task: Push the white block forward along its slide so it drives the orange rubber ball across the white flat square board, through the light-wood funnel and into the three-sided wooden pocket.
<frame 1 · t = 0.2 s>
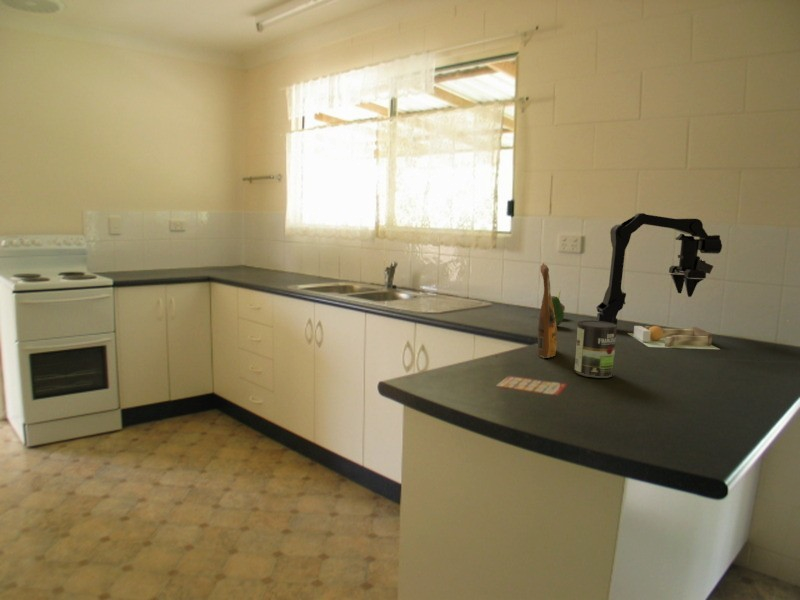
hand: (684, 294, 215), 14 cm above the worktop, tool pointing down, fingers open, 9 cm apart
white block: (641, 333, 201), point 3 cm above the worktop, slide at 0.0 cm
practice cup: (684, 341, 201), resting on white flat square board
coffee can: (593, 374, 159), on the worktop
cupcake: (553, 319, 241), on the worktop
ball: (655, 333, 201), point 3 cm above the worktop, touching white flat square board
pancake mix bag: (545, 354, 181), on the worktop
white flat square board: (670, 342, 201), on the worktop
fruit: (552, 327, 224), on the worktop
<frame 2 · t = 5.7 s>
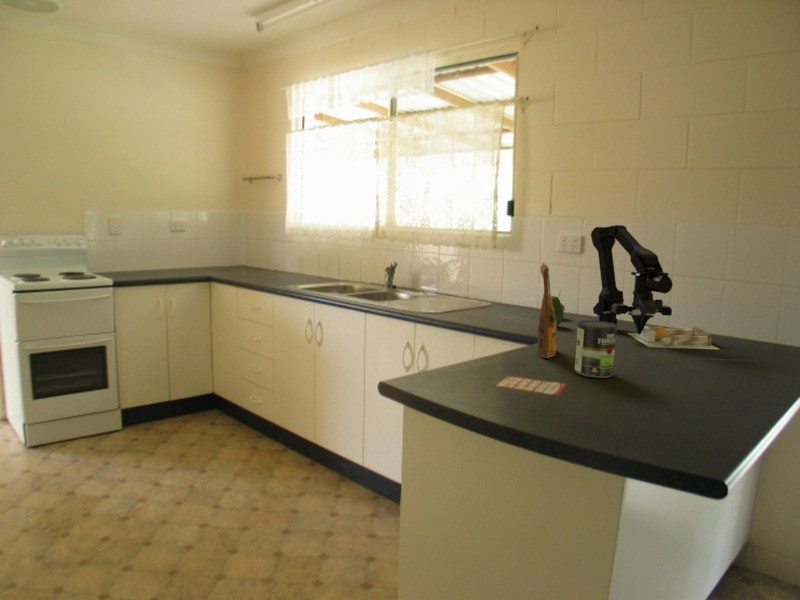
hand: (639, 333, 201), 3 cm above the worktop, tool pointing down, fingers closed
white block: (646, 333, 201), point 3 cm above the worktop, slide at 1.6 cm, touching gripper
ball: (657, 333, 201), point 3 cm above the worktop, tilted 17°, touching white flat square board
everything else where it was.
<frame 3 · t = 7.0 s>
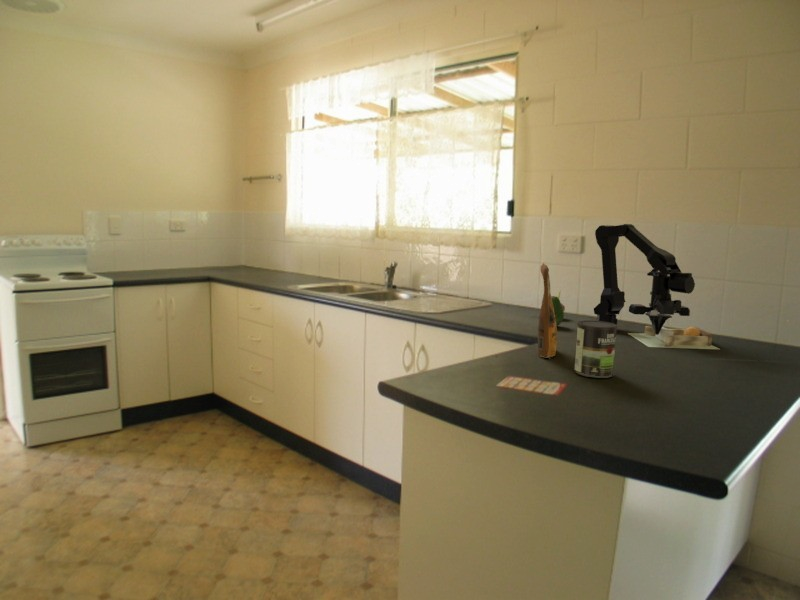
hand: (656, 334, 201), 3 cm above the worktop, tool pointing down, fingers closed
white block: (664, 334, 201), point 3 cm above the worktop, slide at 7.6 cm, touching gripper
ball: (692, 334, 200), point 3 cm above the worktop, tilted 78°, touching white flat square board
everything else where it was.
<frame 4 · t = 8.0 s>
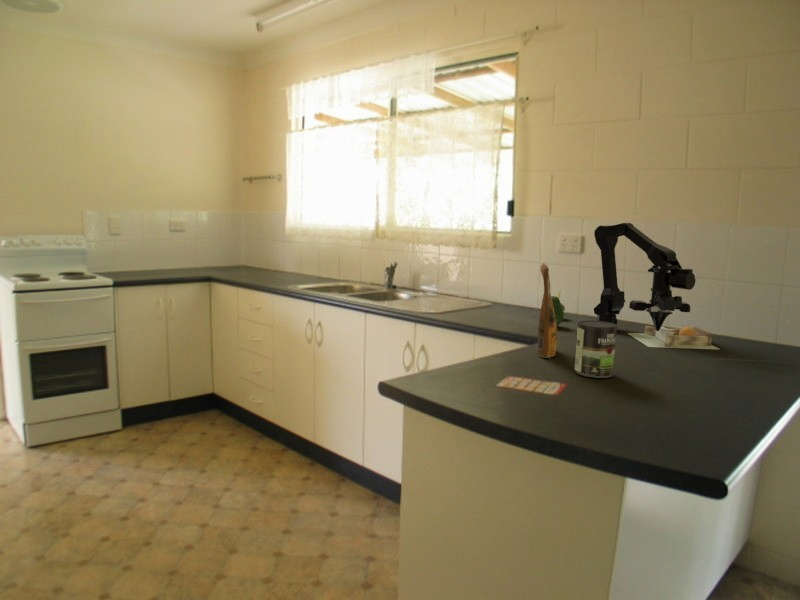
hand: (657, 330, 201), 4 cm above the worktop, tool pointing down, fingers closed
white block: (664, 334, 201), point 3 cm above the worktop, slide at 7.6 cm
ball: (687, 334, 200), point 3 cm above the worktop, tilted 117°, touching white flat square board
everything else where it was.
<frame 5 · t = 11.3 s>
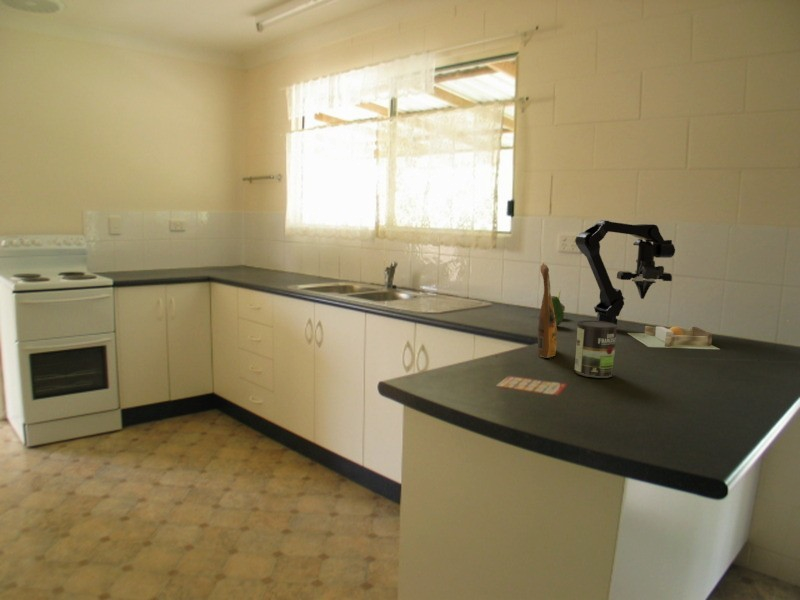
hand: (642, 298, 220), 12 cm above the worktop, tool pointing down, fingers closed
ball: (675, 333, 201), point 3 cm above the worktop, tilted 154°, touching white flat square board
everything else where it was.
at the end: ball inside the target area on the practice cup (2.5 cm from its centre), point 2.5 cm above the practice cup's base; white block slide at 7.6 cm; the gripper is holding nothing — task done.
